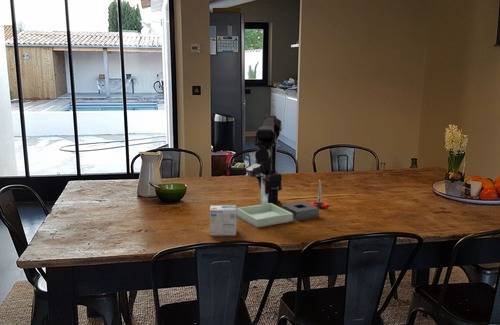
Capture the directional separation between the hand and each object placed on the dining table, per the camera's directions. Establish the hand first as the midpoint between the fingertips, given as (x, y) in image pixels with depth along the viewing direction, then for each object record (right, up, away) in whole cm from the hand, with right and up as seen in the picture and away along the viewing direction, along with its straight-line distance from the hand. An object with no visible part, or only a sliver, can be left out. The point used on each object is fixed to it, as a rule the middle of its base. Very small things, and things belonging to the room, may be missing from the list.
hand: (264, 193), depth 215 cm
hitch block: (+16, -10, +8) cm, 21 cm away
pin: (0, -5, +1) cm, 5 cm away
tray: (0, -11, +2) cm, 12 cm away
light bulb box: (-17, -15, -16) cm, 28 cm away
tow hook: (+27, -8, +23) cm, 36 cm away
